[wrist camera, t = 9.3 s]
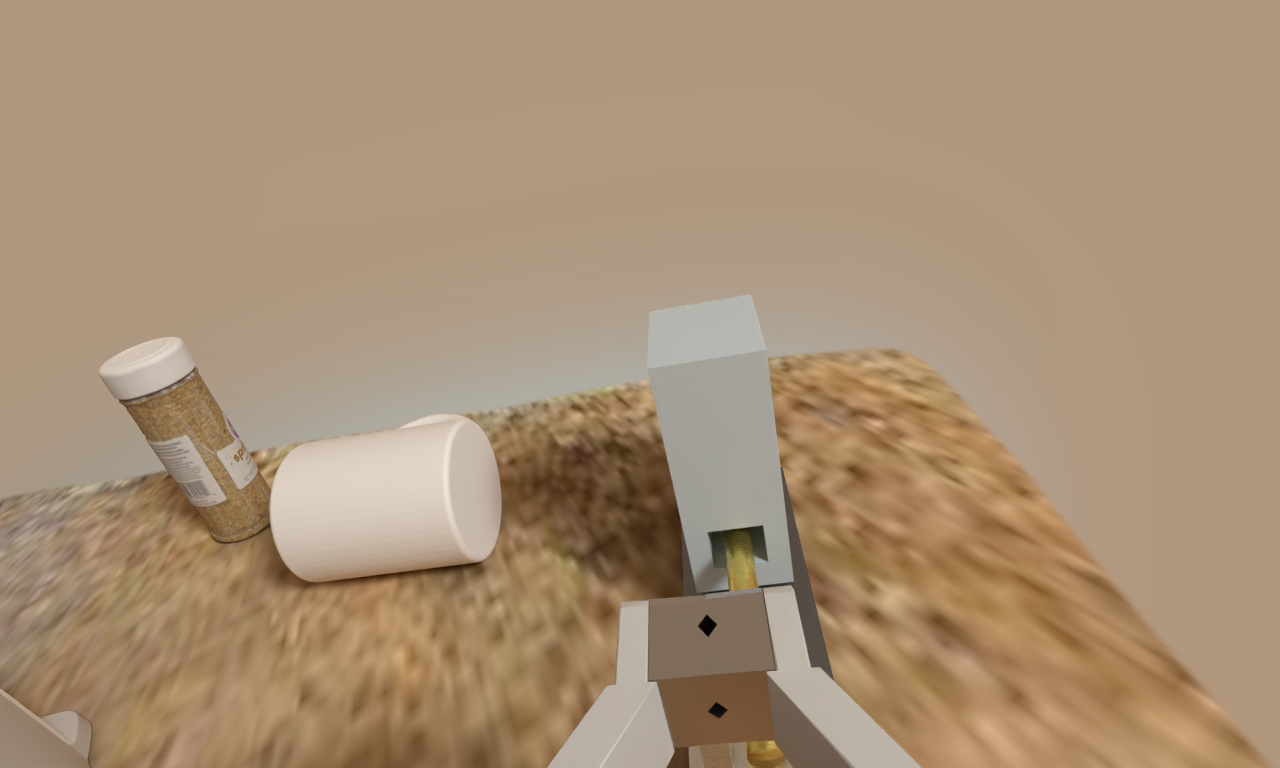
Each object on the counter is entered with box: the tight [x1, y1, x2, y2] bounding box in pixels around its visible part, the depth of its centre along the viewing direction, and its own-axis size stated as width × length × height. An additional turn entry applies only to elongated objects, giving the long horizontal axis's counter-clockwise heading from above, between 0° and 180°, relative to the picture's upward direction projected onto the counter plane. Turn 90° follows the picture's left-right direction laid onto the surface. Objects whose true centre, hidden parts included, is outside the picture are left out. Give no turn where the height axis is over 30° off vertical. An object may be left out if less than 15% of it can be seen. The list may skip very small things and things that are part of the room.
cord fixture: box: [681, 467, 834, 768], centre depth 30 cm, size 6×19×9 cm, turn 179°
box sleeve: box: [647, 294, 794, 593], centre depth 30 cm, size 4×5×12 cm
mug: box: [269, 414, 502, 582], centre depth 41 cm, size 12×10×8 cm
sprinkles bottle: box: [99, 337, 271, 542], centre depth 44 cm, size 5×5×13 cm
